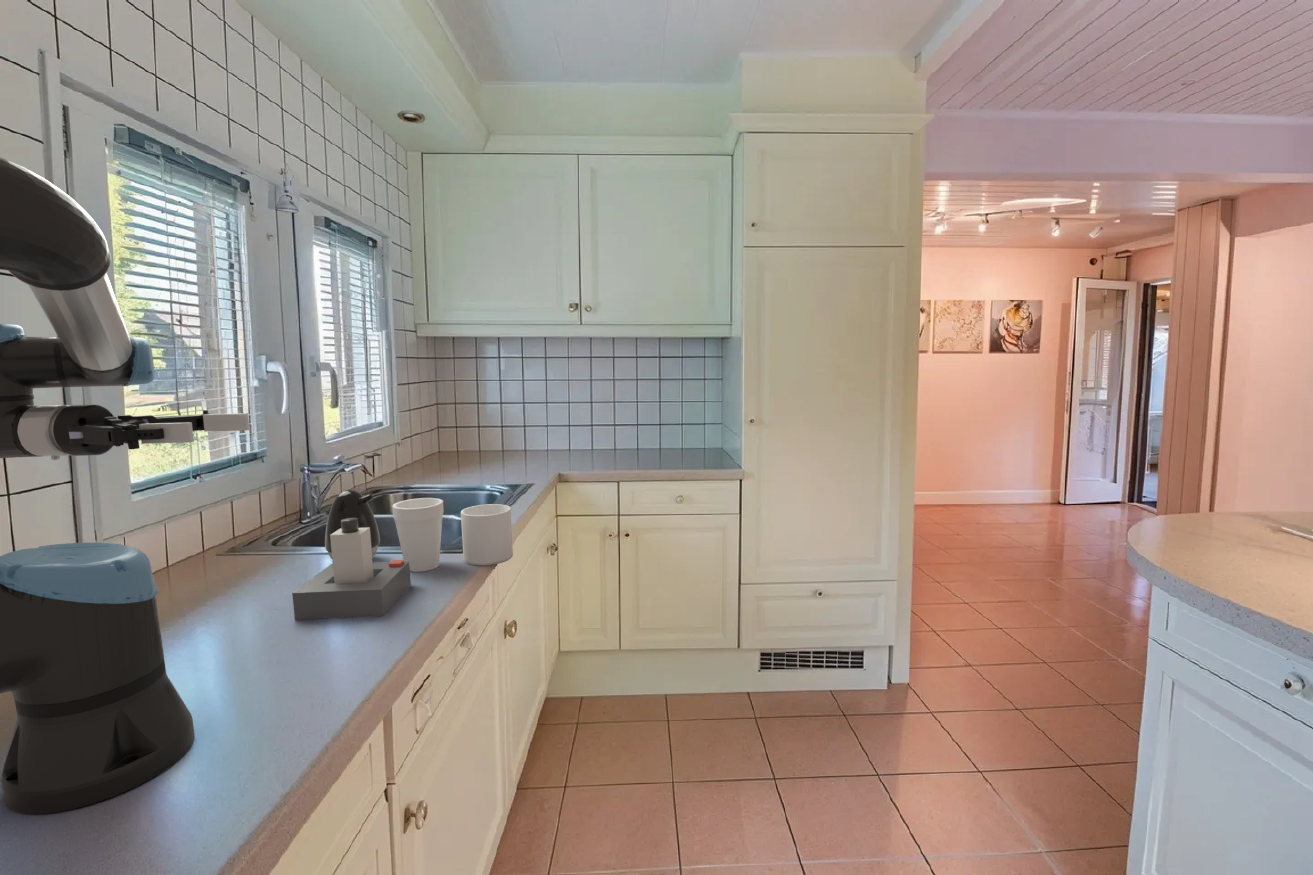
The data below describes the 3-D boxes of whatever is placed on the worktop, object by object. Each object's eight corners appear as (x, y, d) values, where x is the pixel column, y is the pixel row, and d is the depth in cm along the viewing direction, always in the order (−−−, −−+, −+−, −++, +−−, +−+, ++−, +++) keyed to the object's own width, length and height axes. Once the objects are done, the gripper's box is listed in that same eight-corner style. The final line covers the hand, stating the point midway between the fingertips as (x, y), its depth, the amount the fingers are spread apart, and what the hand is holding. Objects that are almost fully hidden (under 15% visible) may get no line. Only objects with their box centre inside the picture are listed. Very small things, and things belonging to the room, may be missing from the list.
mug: (509, 564, 128) (507, 514, 126) (459, 567, 127) (455, 517, 125) (517, 545, 140) (515, 500, 139) (471, 548, 139) (468, 502, 138)
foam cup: (400, 561, 131) (396, 499, 129) (447, 556, 133) (443, 496, 131) (394, 576, 122) (389, 510, 120) (445, 571, 124) (441, 506, 122)
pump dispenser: (361, 571, 125) (354, 496, 123) (315, 569, 127) (308, 495, 125) (392, 555, 135) (387, 485, 133) (349, 553, 137) (343, 484, 135)
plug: (365, 596, 108) (359, 522, 106) (335, 597, 108) (328, 523, 106) (374, 587, 112) (368, 516, 110) (345, 589, 112) (339, 517, 110)
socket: (383, 615, 103) (380, 585, 103) (294, 619, 103) (291, 589, 102) (410, 584, 117) (408, 558, 117) (333, 587, 116) (330, 561, 116)
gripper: (138, 443, 106) (268, 440, 108) (-6, 471, 82) (165, 466, 83) (132, 399, 105) (264, 396, 107) (-16, 413, 81) (158, 409, 82)
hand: (221, 426), depth 95 cm, fingers open, 13 cm apart
